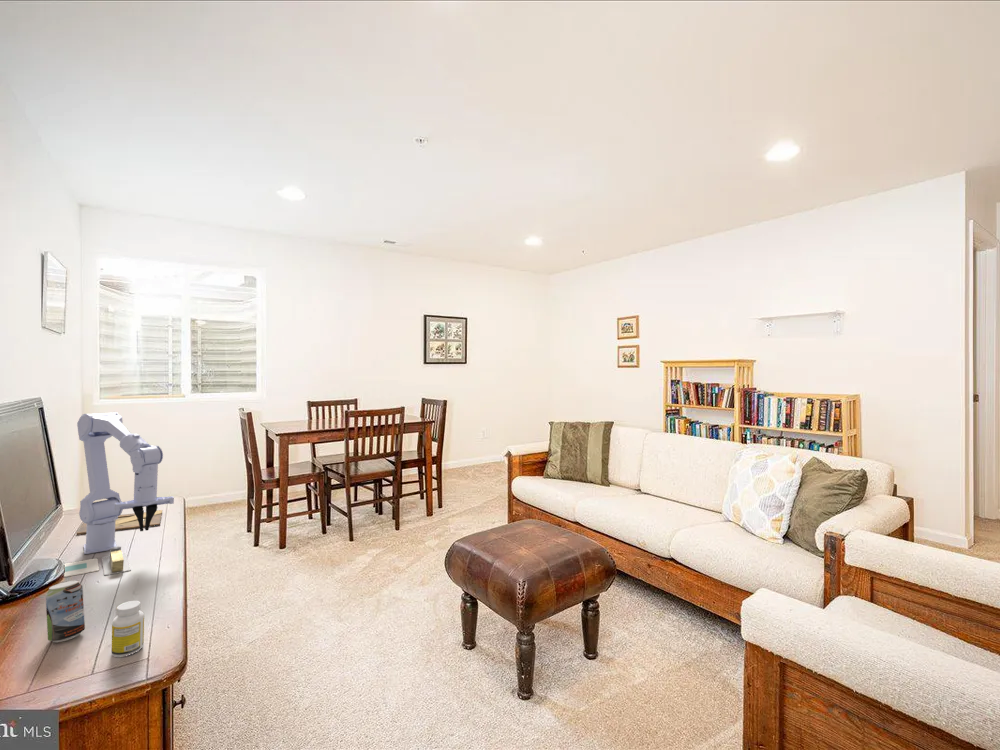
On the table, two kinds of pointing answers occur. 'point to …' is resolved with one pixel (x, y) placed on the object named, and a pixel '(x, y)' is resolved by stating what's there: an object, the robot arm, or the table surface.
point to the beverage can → (65, 611)
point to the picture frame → (127, 522)
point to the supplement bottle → (127, 629)
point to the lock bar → (116, 561)
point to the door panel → (95, 565)
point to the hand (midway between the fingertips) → (144, 529)
